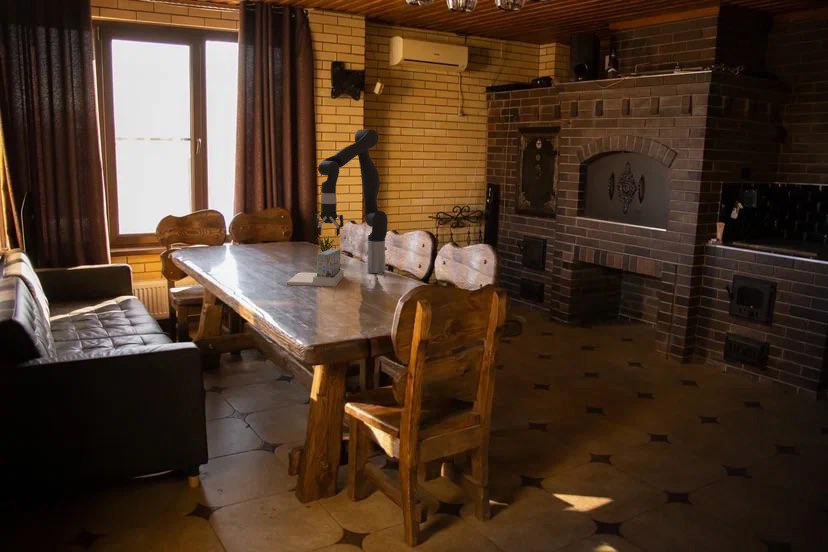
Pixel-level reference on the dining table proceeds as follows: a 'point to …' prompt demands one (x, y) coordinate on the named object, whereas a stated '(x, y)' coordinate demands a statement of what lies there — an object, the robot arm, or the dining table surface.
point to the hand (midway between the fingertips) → (328, 235)
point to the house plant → (325, 244)
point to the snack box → (328, 263)
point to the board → (302, 279)
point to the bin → (328, 279)
